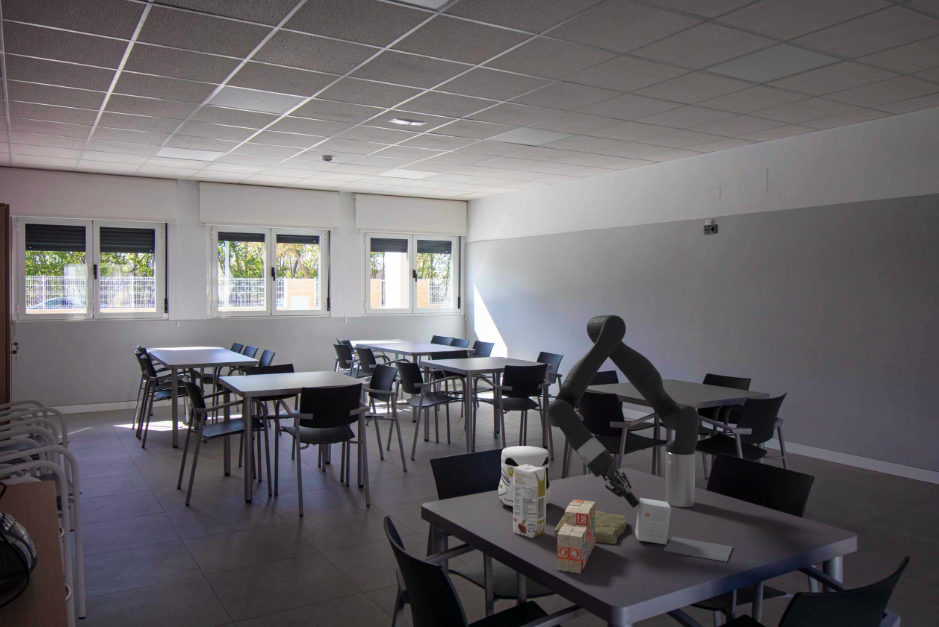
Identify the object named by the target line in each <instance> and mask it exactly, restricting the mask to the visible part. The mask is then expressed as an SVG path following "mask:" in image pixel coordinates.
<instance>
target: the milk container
mask: <svg viewBox="0 0 939 627" xmlns="http://www.w3.org/2000/svg"><path fill="white" fill-rule="evenodd" d="M500 459H501V463H500V464H501V465H500V466H501V468H500V469H501V470H500V471H501V473H500V474H501V475H500V476H501V477H500V481H499V483H498V484H499V485H498V488H497V489H498V498H499V501H500V502H501V504H503V505H504V506H506V507H508V508H511V509H513V477H514V468H515V467H518V466H521V465H525V464H528V465H532V466H534V467H542V468H546V506H547V505H549V504H550V502H551V499H552V487H551V483H550V478H549V477H550V472H549V470H550V464H549V462H550V460H549V459H550V456H549V451H548V450H547V449H546V448H543V447H537V446H531V445H530V446H529V445H528V446H527V445H517V446H516V445H514V446H508V447H504V448H503V449H502V451H501V457H500Z"/></svg>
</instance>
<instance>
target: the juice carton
mask: <svg viewBox="0 0 939 627" xmlns="http://www.w3.org/2000/svg"><path fill="white" fill-rule="evenodd" d="M546 522H547V505H546V468H542V467H534V466H532V465H528V464H525V465H521V466H518V467H515V468H514V477H513V508H512V526H513V533H514V534H516V533H517V535H520V534H521V536H523V535H524V537H526V536H527V538H529V537H530V539H534V538H536V536H537V537H539V536H541V535H543V534H545V532H546V526H547V524H546Z"/></svg>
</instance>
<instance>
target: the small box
mask: <svg viewBox="0 0 939 627" xmlns="http://www.w3.org/2000/svg"><path fill="white" fill-rule="evenodd" d="M638 500H639V504H638V507H637V508H638V509H637V515H636V523H635V530H634V534H635V536H636V539H637V541H641V542H648V543H653V544H654V543H655V544H661V545H667V544H668V543H667V542H668V536H669V527H670V520H671V512H672V507H671V505H669V504H668V502H665V501H664V500H657V499H649V498H645V497H643V498H642V497H640V498H639V499H638Z"/></svg>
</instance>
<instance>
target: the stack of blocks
mask: <svg viewBox="0 0 939 627" xmlns="http://www.w3.org/2000/svg"><path fill="white" fill-rule="evenodd" d="M595 511H596V501H592V500H582V499H572V500H571V501H570V502H569V504H568V505H567V507H566V509H565V510H564V514H565V523H564V525H563V526H562V527H561V529H560V531H559V532H558V537H556V538H557V541H556V543H557V546H556V570H557V571H560V570H562V571H561V572H567V571H569V573H574V572H575V574H581V573H582V571H583V569H584V568H585V566H586V564H587V562H588V559H589V557H590V555H591V553H592V552H593V550H594V549H595V547H596V542H595ZM592 549H593V550H592ZM591 551H592V552H591Z"/></svg>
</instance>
